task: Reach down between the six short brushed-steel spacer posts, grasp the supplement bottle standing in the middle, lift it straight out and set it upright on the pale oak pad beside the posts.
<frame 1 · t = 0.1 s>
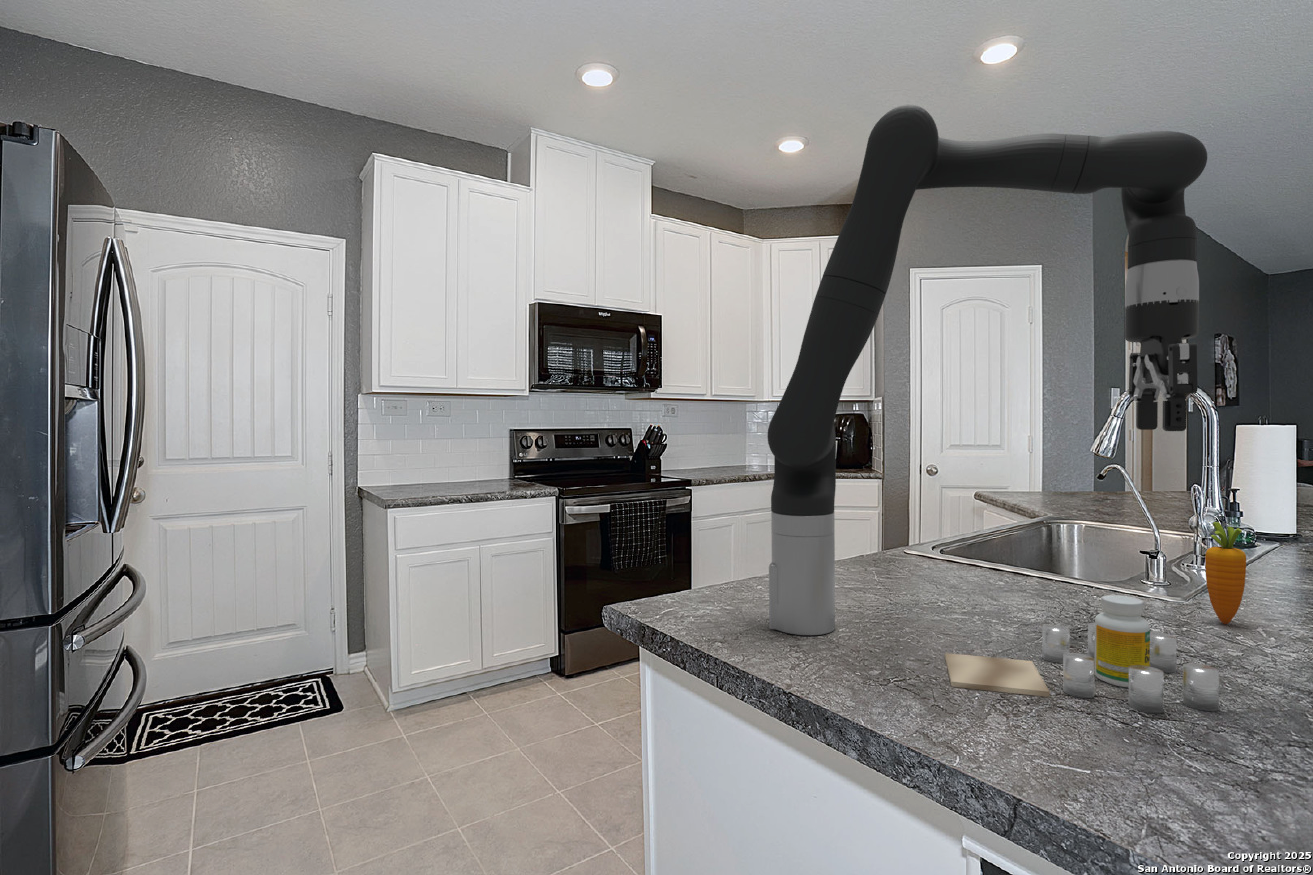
hand: (1159, 430, 86), 29 cm above the counter, fingers open, 8 cm apart
carrot: (1225, 625, 100), on the counter
pad: (993, 675, 81), on the counter
spacer posts: (1121, 679, 80), on the counter
supplement bottle: (1121, 681, 80), on the counter
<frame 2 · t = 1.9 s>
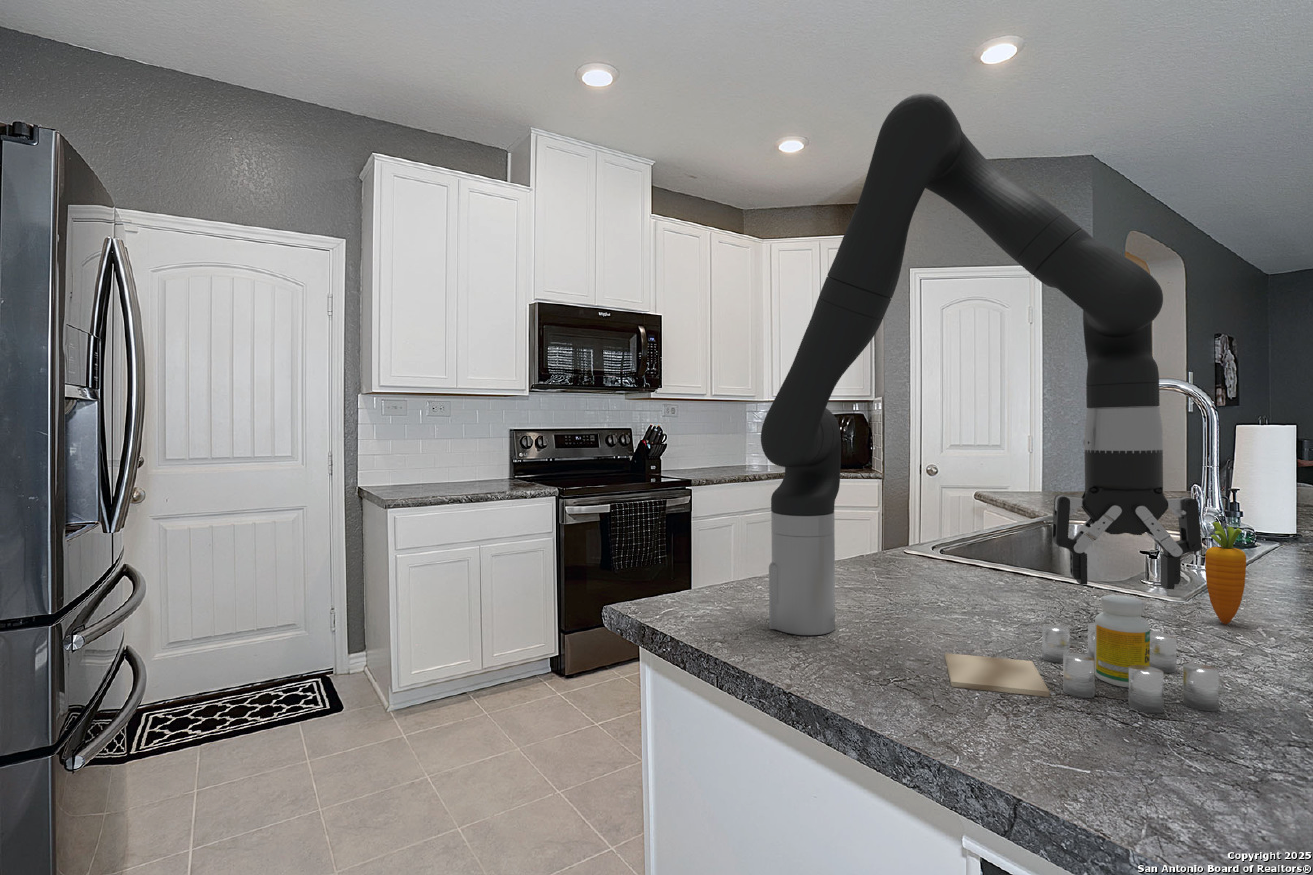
hand: (1124, 585, 79), 11 cm above the counter, fingers open, 8 cm apart
nothing on the counter moved.
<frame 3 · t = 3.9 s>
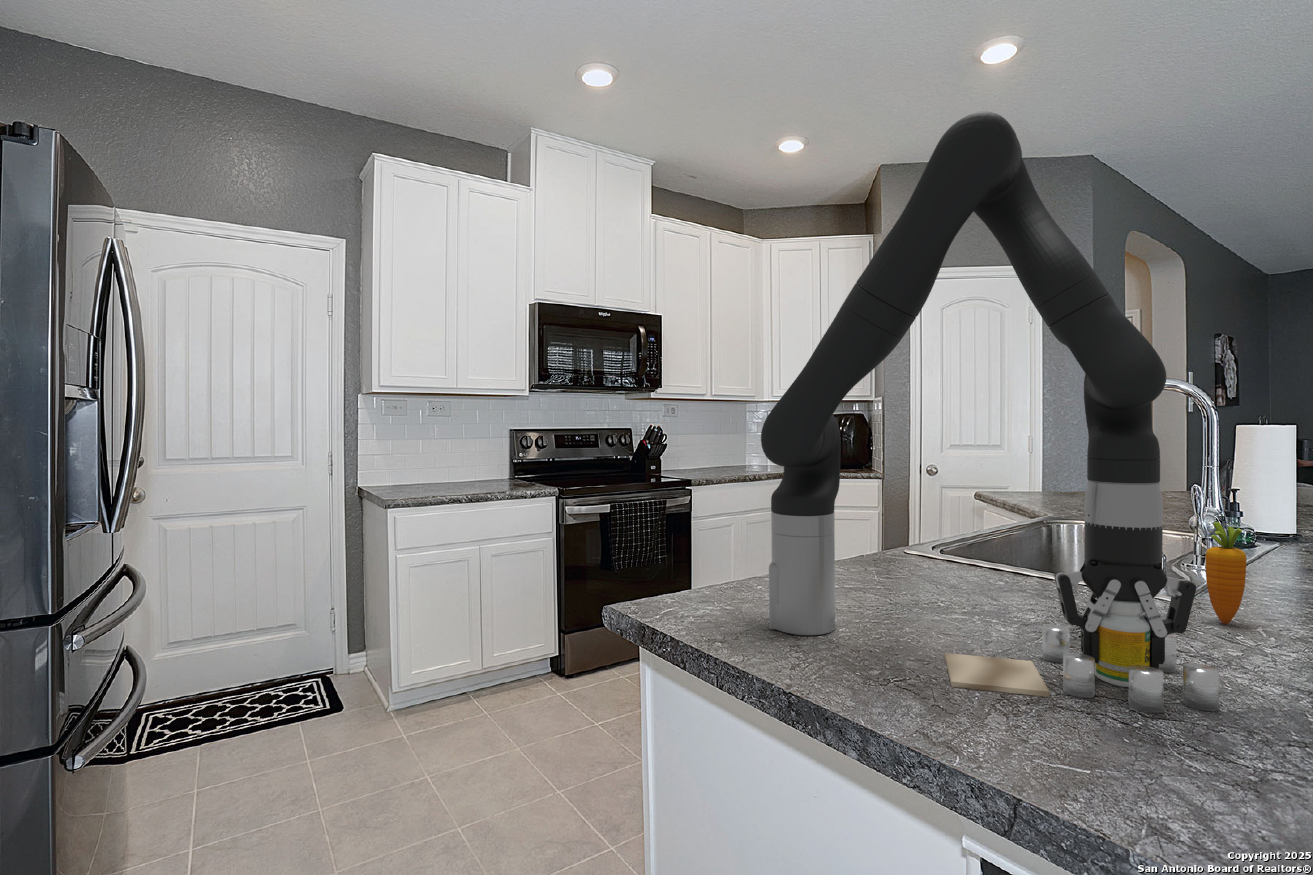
hand: (1122, 663, 80), 2 cm above the counter, fingers closed on supplement bottle, 5 cm apart
supplement bottle: (1121, 681, 80), on the counter, touching gripper
everything else where it was.
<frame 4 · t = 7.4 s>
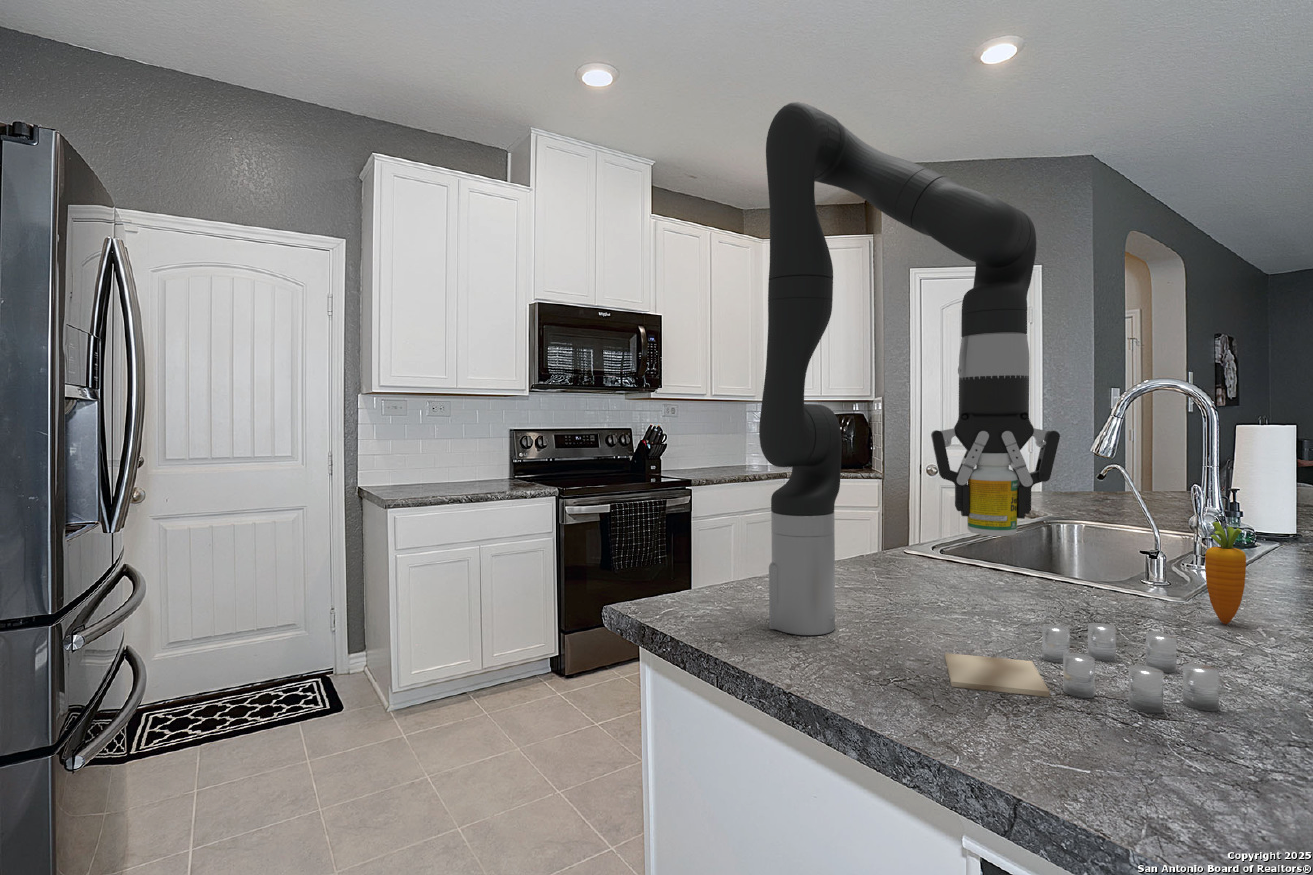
hand: (992, 516, 81), 19 cm above the counter, fingers closed on supplement bottle, 5 cm apart
supplement bottle: (991, 534, 81), point 17 cm above the counter, touching gripper
everything else where it was.
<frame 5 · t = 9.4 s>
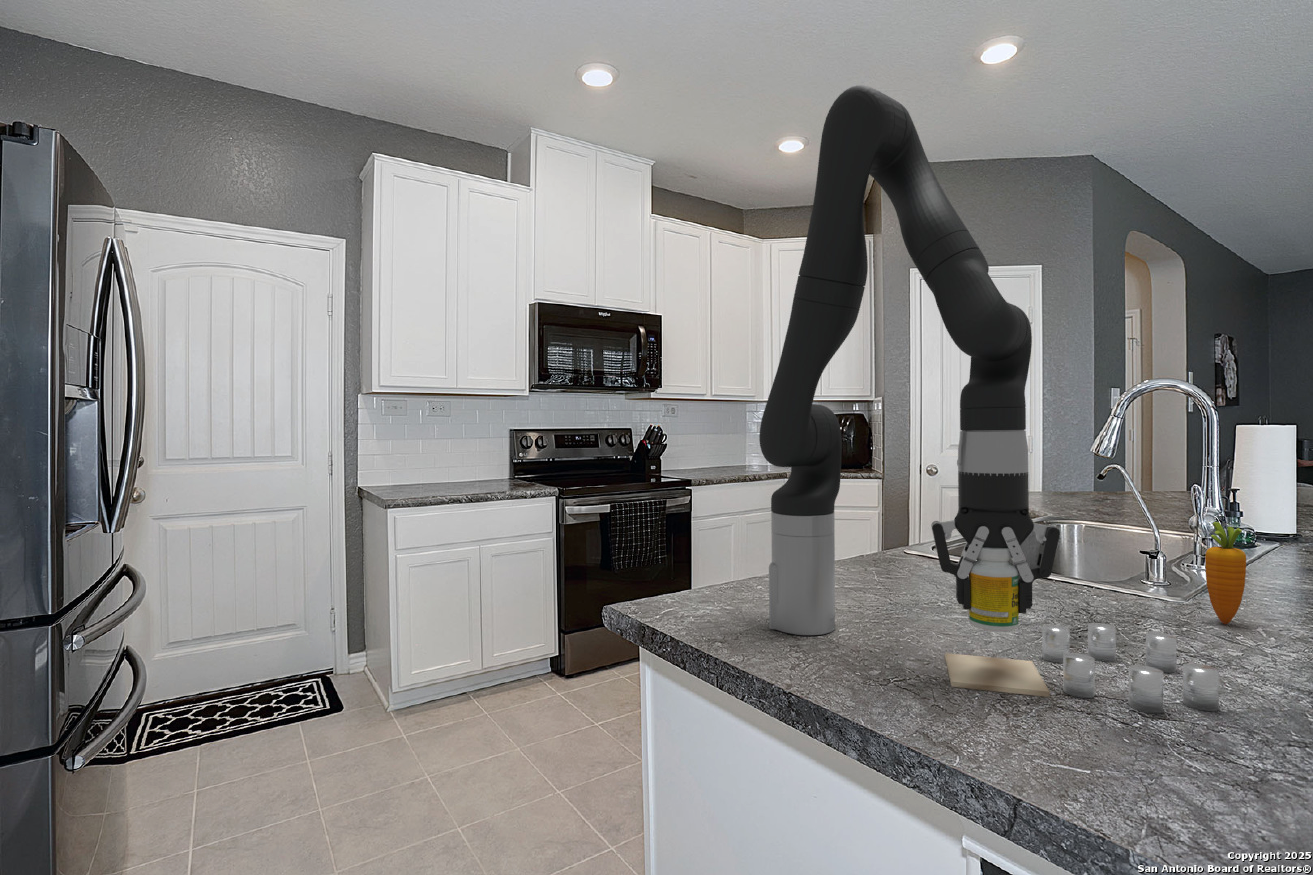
hand: (993, 609, 81), 8 cm above the counter, fingers closed on supplement bottle, 5 cm apart
supplement bottle: (993, 627, 81), point 6 cm above the counter, touching gripper
everything else where it was.
when the fingers open (4 cm above the counter, at t = 11.2 s): supplement bottle drops 1 cm, resting on pad.
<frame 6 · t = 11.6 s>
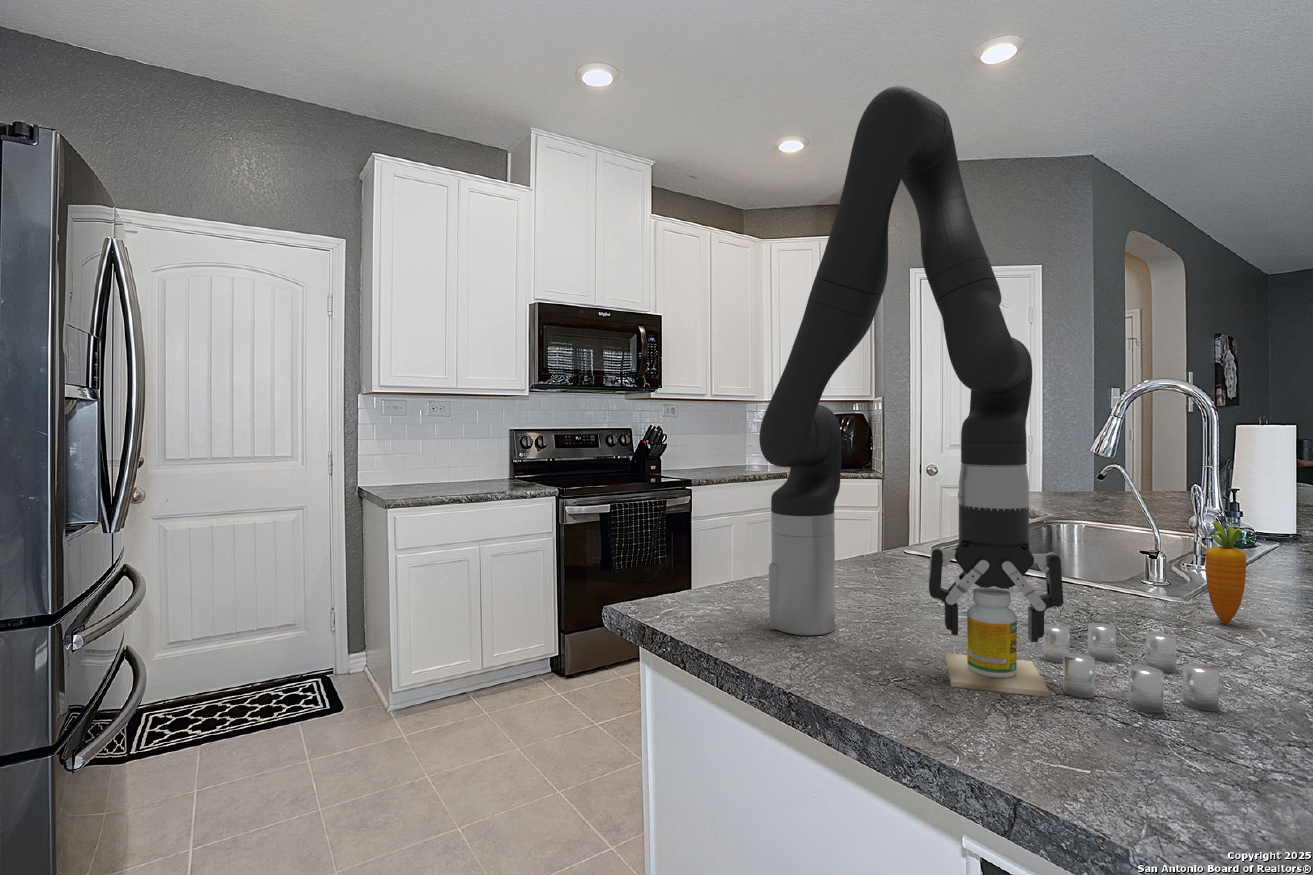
hand: (993, 636, 81), 5 cm above the counter, fingers open, 8 cm apart
supplement bottle: (991, 672, 82), resting on pad
everything else where it was.
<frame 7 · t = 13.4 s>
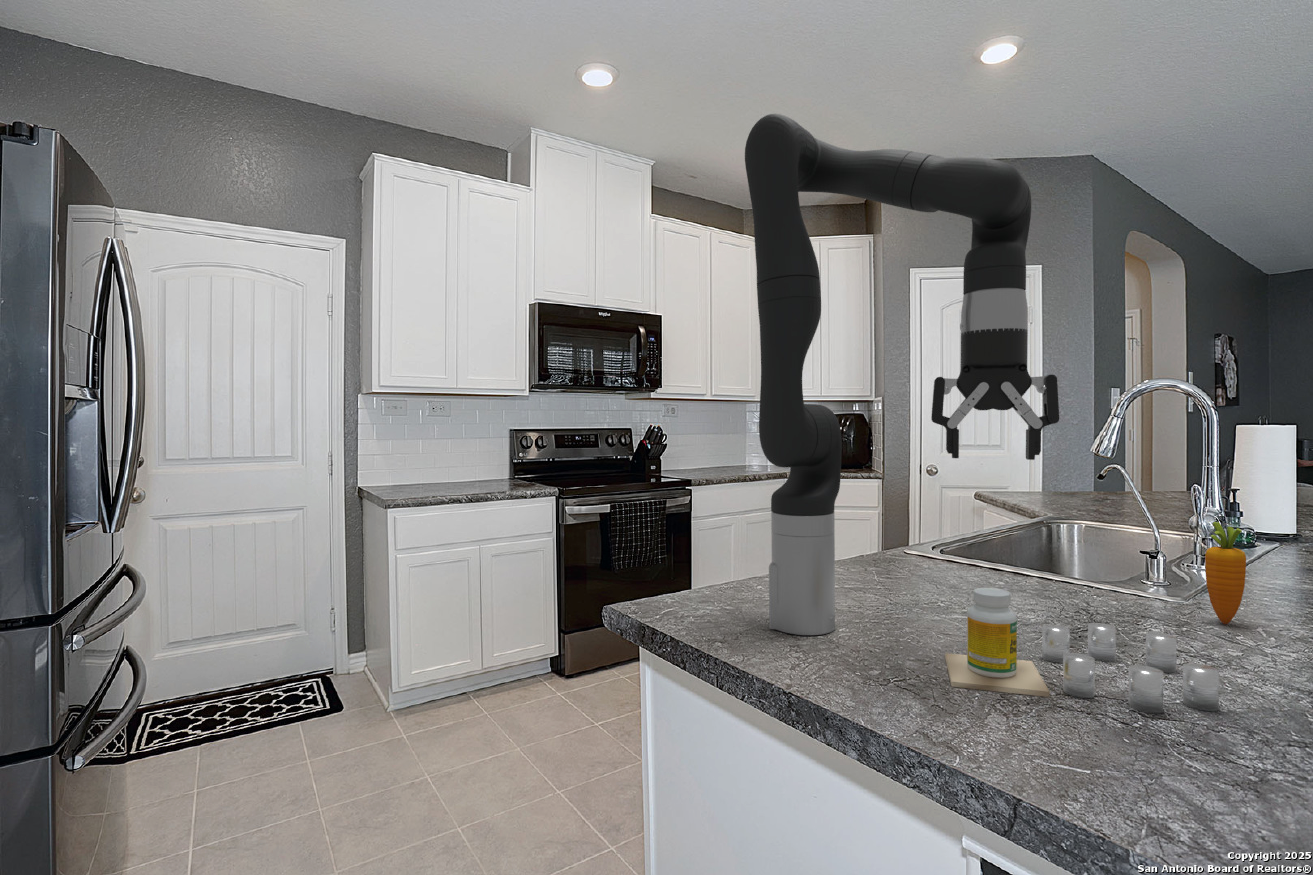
hand: (992, 458, 86), 26 cm above the counter, fingers open, 8 cm apart
nothing on the counter moved.
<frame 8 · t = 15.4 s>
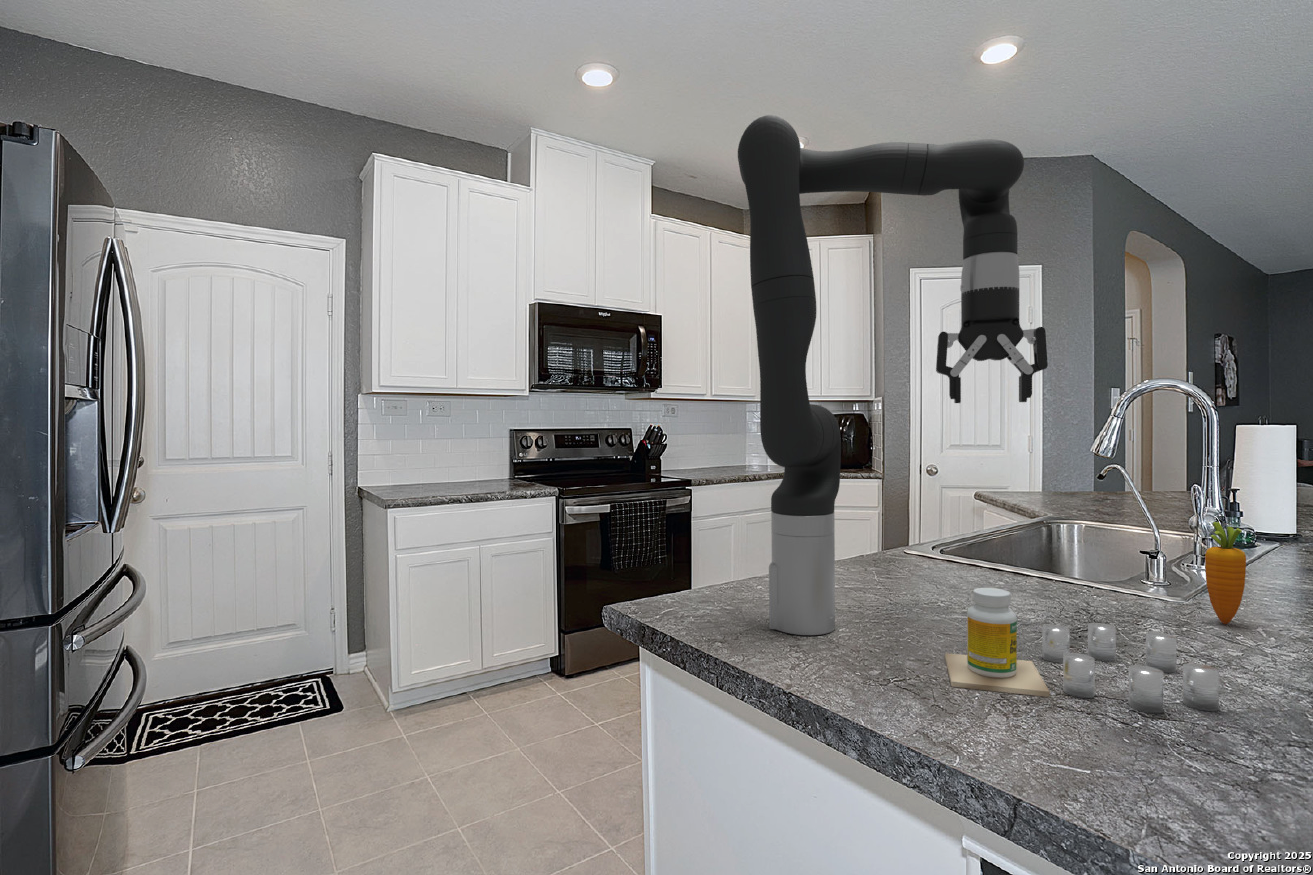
hand: (989, 402, 98), 33 cm above the counter, fingers open, 8 cm apart
nothing on the counter moved.
at the end: supplement bottle 0.2 cm off-centre on the pad, point 0.4 cm above the pad's base; supplement bottle tilted 0°; the gripper is holding nothing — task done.
